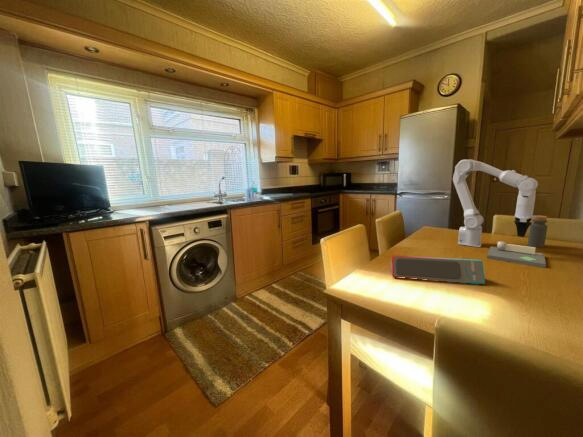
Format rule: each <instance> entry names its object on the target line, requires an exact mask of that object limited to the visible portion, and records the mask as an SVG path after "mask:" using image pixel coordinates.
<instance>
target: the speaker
mask: <svg viewBox="0 0 583 437" xmlns="http://www.w3.org/2000/svg"><path fill="white" fill-rule="evenodd" d="M390 269H391V270H390V273H391V276H393V277H405V278H417V279H427V280H437V281H436V282H439V281H448V282H447V283H452V282H460V283H459V284H465V283H471V284H470V285H479V284H484V285H485V284H486V278H485V277H486V276H485V270H484V265H483V261H482V260H480V259H471V258H469V259H468V258H451V257H450V258H449V257H436V256H435V257H432V256H431V257H429V256H413V255H412V256H411V255H396V254H395V255H392V256H391V260H390ZM393 277H392V278H393Z"/></svg>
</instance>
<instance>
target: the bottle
mask: <svg viewBox="0 0 583 437" xmlns="http://www.w3.org/2000/svg"><path fill="white" fill-rule="evenodd" d="M535 216H536V218H532V220H531V222H532V224H531V225H530V226H529V232H528V239H527V246H528V247H536V248H540V249H541V248H545V243H546V237H547V230H548V225H547V224H546V223H548V220H547V218H548V216H547V215H538V214H537V215H535Z"/></svg>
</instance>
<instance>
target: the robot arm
mask: <svg viewBox="0 0 583 437" xmlns="http://www.w3.org/2000/svg"><path fill="white" fill-rule="evenodd" d="M475 171H476V172H478V171H480V172H483V173H486V174H489V175H491V176H494V177H497V178H498V179H499V181H500V182H501V183H504V184H506V185H509V186H511V187H513V188H517V189H518V195H517V200H516V207H515V213H514V219H515V220H513V222H514V224H515V227H516V234H517V237H519V238H520V237H521V238H525V236H526V233H527V231H528V230H529V228H530V225H531V224H533V221H532V219H534V218H536V216H535V215H533V214H534V209H535V202H536V194H537V192H536V190H537V188H538V185H539V182H538V180H536V179H535V178H534V177H529V176H528V175H526V174H525V175H524V174H520V173H517V171H516V170H515V169H512V170H510V169H508V170H501V169H499V168H497V167H494V166H493V165H490V164H487V163H485V162H482V161H478V160H474V159H472V158H471V159H470V158H469V159H465V158H464V159H461V160H460V161H459V162H458V163H457V164H456V165H455V166H454V173H453V175H452V176H453V177H452V182H453V185H454V188H455V190H456V194H457V195H458V198H459V201H460V203H461V207H462V209H463V217H464V221H463V224H464V226H460V227H459V230H458V237H457V240H458V241H457V245H462V246H469V247H475V248H481V247H482V245H483V243H482V242H481V241H482V232H483V227H482V224H483V223H484V221H485V220H484V219H485V218H484V217H483V215H482V214H480V211H479V209H478V208H477V207H476V205H475V203H474V200H473V197H472V194H471V191H470V189H469V186H468V184H467V178H468V176H469V175H470V174H471V173H472V172H475Z"/></svg>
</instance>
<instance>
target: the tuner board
mask: <svg viewBox="0 0 583 437" xmlns="http://www.w3.org/2000/svg"><path fill="white" fill-rule="evenodd" d="M541 254H542V255H538V254H528V253H521V252H514V251H507V250H498V249H497V246H490V247H489V250H488V252H487V256H486V259H488V260H489V259H491V260H497V261H502V262H508V263H513V264H521V265H526V266H531V267H539V268H544V269H545V268H546V267H547V266H546V265H547V263H546V258H545V253H541Z"/></svg>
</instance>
